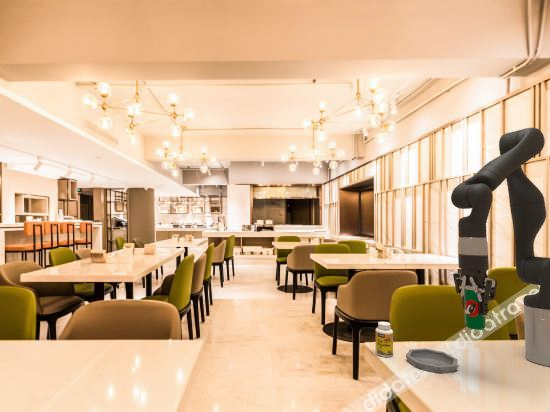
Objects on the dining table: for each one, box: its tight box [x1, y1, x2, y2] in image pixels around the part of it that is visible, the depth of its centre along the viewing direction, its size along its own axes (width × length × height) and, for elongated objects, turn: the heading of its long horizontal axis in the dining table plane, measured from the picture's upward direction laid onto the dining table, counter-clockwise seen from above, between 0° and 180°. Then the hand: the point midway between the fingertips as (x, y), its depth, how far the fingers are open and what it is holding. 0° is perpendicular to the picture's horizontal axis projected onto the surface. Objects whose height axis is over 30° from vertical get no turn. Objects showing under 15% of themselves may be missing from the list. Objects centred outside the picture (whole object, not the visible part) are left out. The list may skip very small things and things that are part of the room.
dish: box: [405, 348, 459, 374], centre depth 103 cm, size 14×14×2 cm
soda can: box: [464, 285, 487, 331], centre depth 94 cm, size 5×5×12 cm
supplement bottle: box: [375, 321, 394, 358], centre depth 110 cm, size 6×6×10 cm
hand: (474, 312), depth 94 cm, fingers closed on soda can, 5 cm apart
